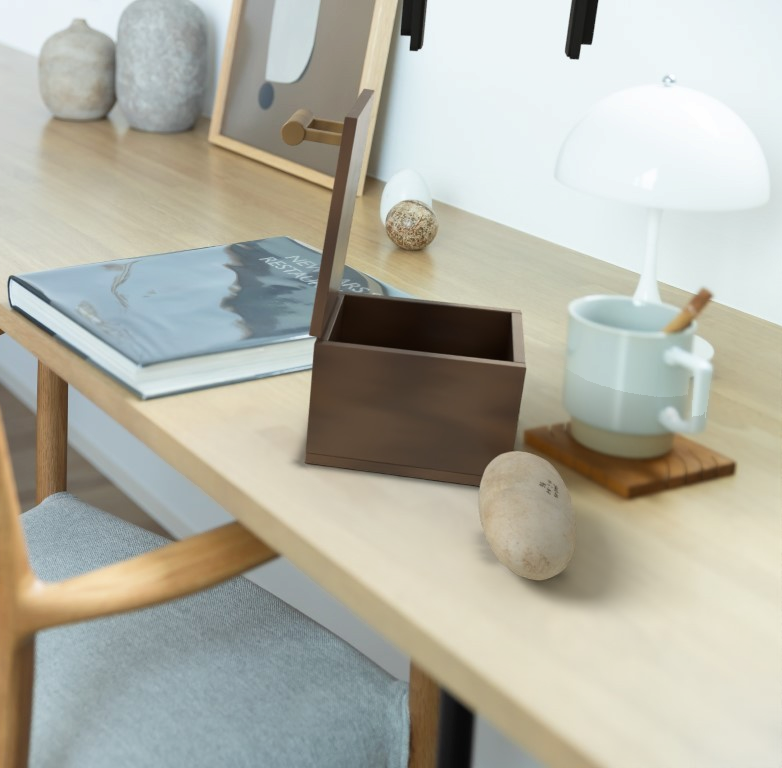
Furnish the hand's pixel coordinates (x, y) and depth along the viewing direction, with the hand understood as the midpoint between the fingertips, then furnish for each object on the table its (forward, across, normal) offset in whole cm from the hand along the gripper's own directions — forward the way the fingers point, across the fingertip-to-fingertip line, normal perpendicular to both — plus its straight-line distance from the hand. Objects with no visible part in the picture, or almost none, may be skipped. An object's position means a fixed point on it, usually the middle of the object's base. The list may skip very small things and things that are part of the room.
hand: (492, 52), depth 74 cm
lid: (+11, -8, -1) cm, 14 cm away
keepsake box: (+27, -3, -1) cm, 27 cm away
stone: (+28, +5, -14) cm, 31 cm away
